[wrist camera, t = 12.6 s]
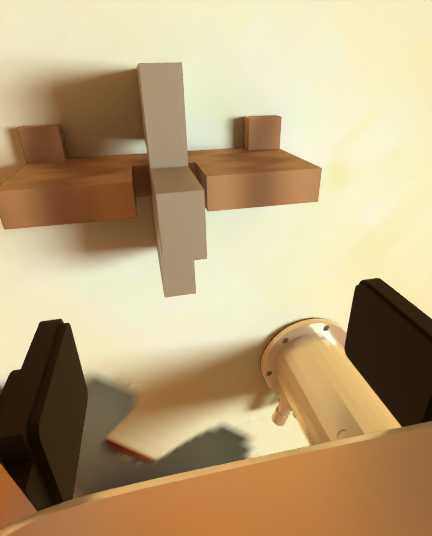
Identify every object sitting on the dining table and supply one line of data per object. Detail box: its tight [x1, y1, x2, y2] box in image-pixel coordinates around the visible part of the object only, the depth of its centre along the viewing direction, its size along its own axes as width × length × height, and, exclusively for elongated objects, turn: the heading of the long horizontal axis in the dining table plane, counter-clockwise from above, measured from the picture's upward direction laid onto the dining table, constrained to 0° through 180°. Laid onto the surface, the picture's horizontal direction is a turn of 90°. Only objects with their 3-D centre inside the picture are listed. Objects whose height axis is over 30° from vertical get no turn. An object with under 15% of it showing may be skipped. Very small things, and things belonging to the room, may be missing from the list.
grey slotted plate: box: [137, 63, 207, 297], centre depth 26 cm, size 16×2×16 cm, turn 1°
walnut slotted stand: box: [0, 115, 322, 229], centre depth 29 cm, size 22×8×10 cm, turn 91°
